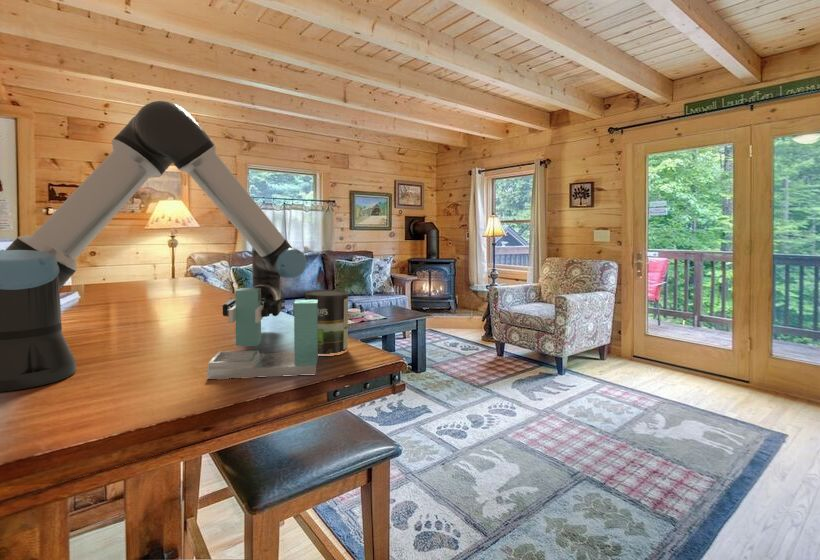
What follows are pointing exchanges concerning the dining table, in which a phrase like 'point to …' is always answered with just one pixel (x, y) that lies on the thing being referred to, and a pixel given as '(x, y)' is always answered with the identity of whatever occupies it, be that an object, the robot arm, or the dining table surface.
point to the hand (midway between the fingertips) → (243, 316)
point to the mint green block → (247, 316)
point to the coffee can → (331, 319)
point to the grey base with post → (275, 363)
